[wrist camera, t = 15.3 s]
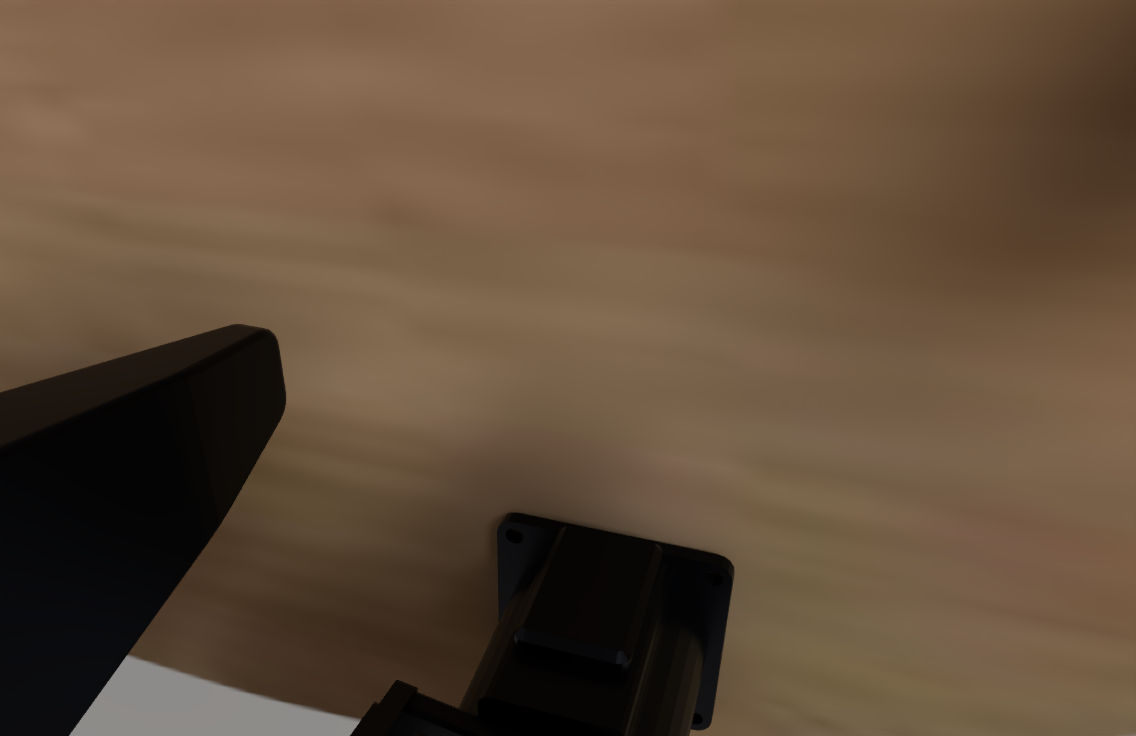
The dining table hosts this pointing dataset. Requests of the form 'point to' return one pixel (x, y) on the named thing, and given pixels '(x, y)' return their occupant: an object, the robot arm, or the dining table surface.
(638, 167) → the dining table surface
